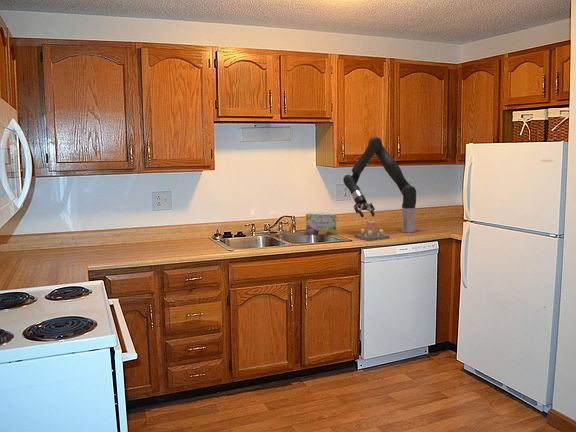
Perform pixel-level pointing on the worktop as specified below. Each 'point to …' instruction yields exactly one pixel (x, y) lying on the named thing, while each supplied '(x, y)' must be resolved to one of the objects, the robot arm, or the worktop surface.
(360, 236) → the chassis plate
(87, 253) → the worktop surface
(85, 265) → the worktop surface
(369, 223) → the terracotta block
